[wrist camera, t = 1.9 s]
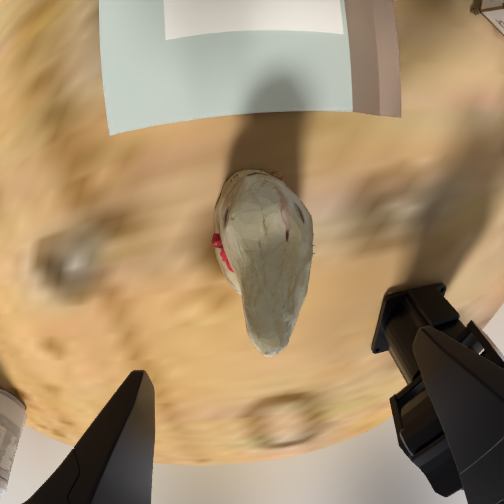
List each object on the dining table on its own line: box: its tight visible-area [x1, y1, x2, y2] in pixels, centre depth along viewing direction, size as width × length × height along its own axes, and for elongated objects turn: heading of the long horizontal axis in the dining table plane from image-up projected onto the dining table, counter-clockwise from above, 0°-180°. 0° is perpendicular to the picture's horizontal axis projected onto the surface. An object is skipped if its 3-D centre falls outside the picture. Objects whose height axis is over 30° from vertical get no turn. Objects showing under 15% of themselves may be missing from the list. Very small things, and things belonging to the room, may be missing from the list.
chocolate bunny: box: [212, 169, 316, 357], centre depth 13 cm, size 6×8×10 cm
